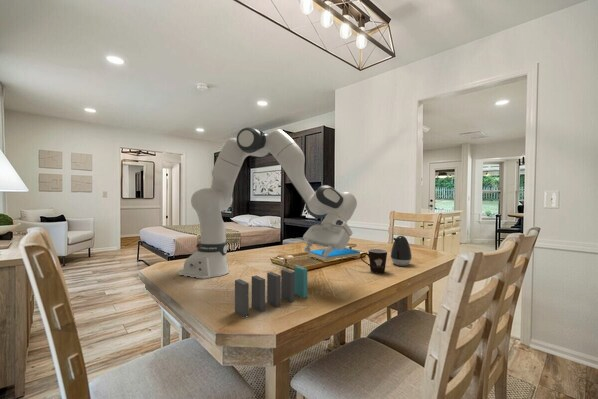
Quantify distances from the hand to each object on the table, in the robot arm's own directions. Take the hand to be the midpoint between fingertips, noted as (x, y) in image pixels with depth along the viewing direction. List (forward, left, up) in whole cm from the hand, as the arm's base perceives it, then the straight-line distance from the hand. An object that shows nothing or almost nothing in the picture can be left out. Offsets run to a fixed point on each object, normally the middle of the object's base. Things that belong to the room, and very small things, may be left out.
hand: (314, 253), depth 103 cm
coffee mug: (+25, +31, -14) cm, 43 cm away
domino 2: (-16, -19, -14) cm, 29 cm away
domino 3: (-12, -14, -14) cm, 24 cm away
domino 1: (-20, -24, -14) cm, 34 cm away
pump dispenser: (+41, +46, -14) cm, 63 cm away
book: (+6, +57, -15) cm, 59 cm away
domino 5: (-4, -5, -14) cm, 16 cm away
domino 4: (-8, -10, -14) cm, 19 cm away
